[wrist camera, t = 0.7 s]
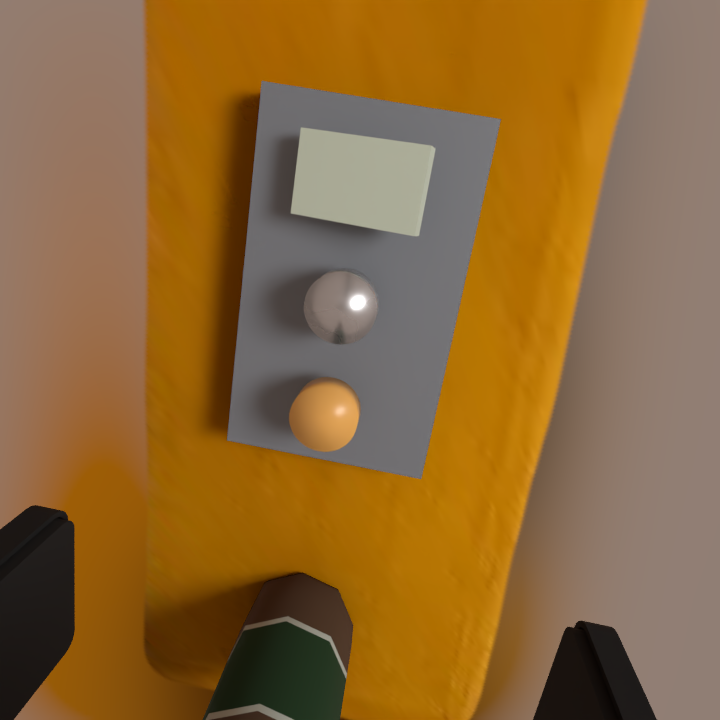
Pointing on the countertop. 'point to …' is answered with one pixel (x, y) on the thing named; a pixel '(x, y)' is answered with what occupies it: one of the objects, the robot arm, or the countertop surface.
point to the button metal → (341, 306)
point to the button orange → (325, 414)
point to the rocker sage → (362, 180)
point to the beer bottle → (287, 656)
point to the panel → (371, 257)
